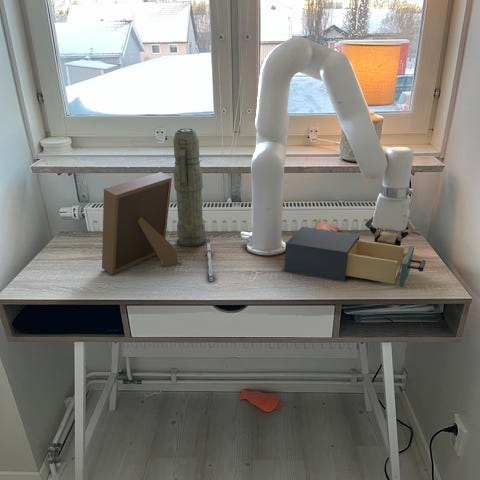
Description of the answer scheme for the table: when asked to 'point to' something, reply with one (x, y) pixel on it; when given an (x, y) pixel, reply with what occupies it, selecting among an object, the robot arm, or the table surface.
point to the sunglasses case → (325, 226)
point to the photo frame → (136, 223)
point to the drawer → (380, 262)
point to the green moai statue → (188, 188)
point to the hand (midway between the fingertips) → (386, 249)
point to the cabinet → (319, 252)
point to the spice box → (387, 238)
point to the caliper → (209, 259)
